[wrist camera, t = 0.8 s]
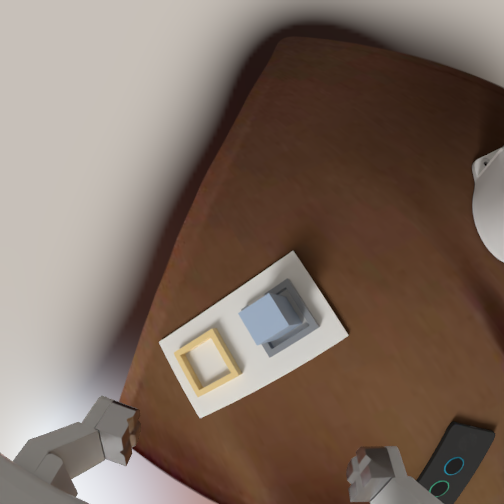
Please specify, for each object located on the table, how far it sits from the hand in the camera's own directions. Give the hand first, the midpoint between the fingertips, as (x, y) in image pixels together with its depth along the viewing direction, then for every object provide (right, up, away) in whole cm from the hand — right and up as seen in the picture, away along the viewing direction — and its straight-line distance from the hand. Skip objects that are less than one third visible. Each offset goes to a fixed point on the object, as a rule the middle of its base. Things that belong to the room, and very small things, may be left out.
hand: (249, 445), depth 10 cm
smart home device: (+26, -26, +19) cm, 41 cm away
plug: (+4, -2, +30) cm, 30 cm away
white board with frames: (-1, -5, +32) cm, 32 cm away
